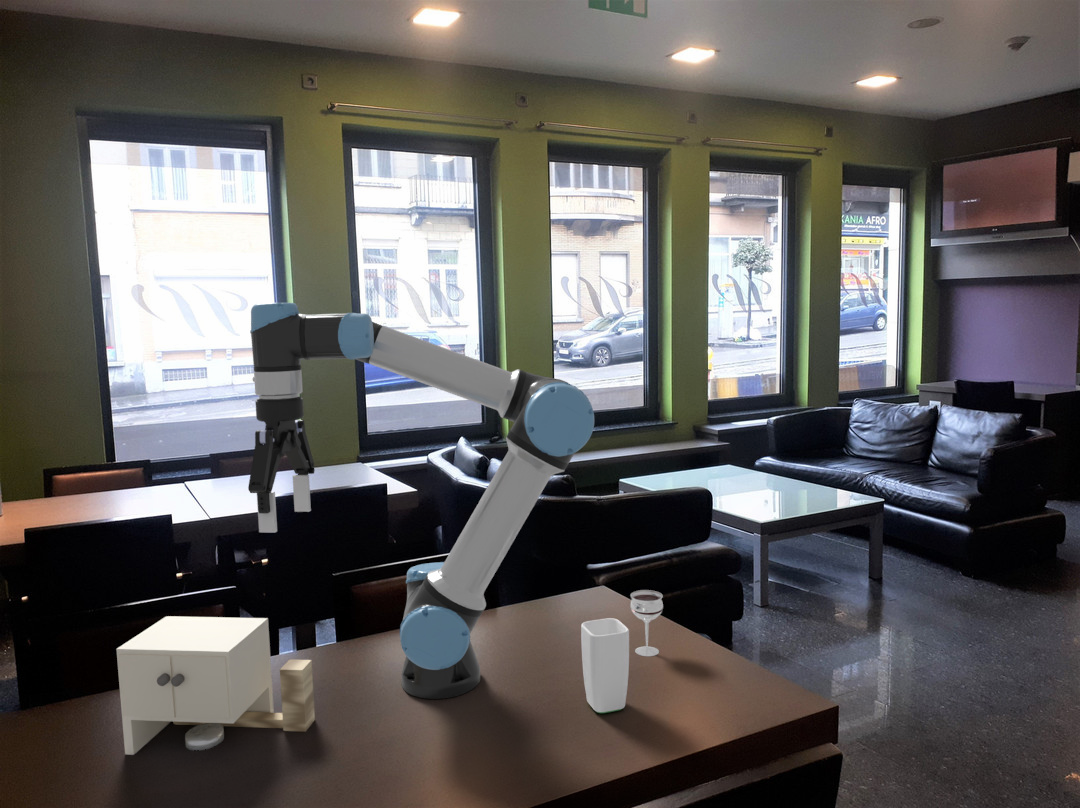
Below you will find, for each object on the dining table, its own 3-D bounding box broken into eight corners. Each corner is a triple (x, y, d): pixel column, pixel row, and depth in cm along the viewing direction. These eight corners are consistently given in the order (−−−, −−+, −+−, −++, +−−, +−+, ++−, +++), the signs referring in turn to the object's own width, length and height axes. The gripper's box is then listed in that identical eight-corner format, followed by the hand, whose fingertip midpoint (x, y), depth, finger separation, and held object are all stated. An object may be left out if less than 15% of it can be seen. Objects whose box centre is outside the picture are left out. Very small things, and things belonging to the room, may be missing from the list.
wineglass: (640, 641, 169) (639, 587, 167) (669, 649, 165) (668, 593, 163) (624, 653, 163) (624, 597, 162) (653, 660, 159) (653, 603, 158)
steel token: (230, 733, 135) (230, 723, 135) (212, 752, 129) (212, 742, 129) (197, 732, 136) (197, 722, 136) (178, 751, 130) (177, 740, 130)
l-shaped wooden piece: (314, 719, 139) (311, 659, 137) (305, 731, 135) (302, 670, 133) (183, 715, 141) (179, 656, 140) (170, 726, 137) (166, 666, 136)
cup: (632, 712, 139) (632, 631, 137) (594, 719, 136) (593, 637, 135) (616, 694, 146) (615, 616, 144) (579, 700, 143) (578, 622, 142)
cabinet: (273, 715, 140) (267, 618, 138) (231, 764, 125) (223, 655, 123) (173, 711, 142) (166, 616, 141) (119, 759, 127) (110, 652, 125)
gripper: (289, 389, 143) (295, 503, 146) (219, 404, 119) (228, 541, 121) (328, 389, 143) (334, 503, 145) (266, 404, 118) (274, 542, 120)
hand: (286, 521), depth 133 cm, fingers open, 13 cm apart
